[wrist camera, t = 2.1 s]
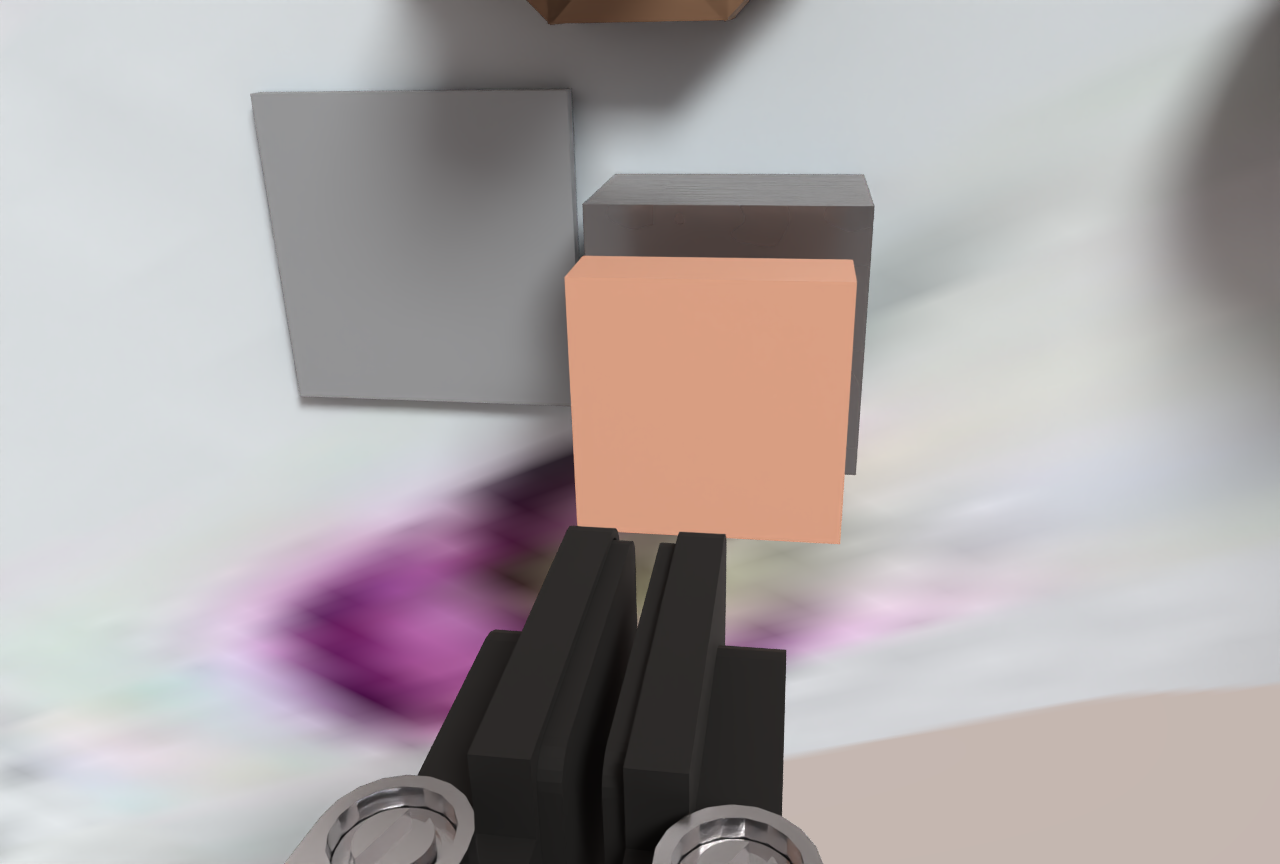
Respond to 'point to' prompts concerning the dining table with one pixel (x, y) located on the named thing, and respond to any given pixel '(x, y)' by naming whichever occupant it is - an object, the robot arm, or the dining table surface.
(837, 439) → the orange square block
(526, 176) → the mat
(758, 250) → the block
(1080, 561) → the dining table surface
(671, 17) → the sleeve
